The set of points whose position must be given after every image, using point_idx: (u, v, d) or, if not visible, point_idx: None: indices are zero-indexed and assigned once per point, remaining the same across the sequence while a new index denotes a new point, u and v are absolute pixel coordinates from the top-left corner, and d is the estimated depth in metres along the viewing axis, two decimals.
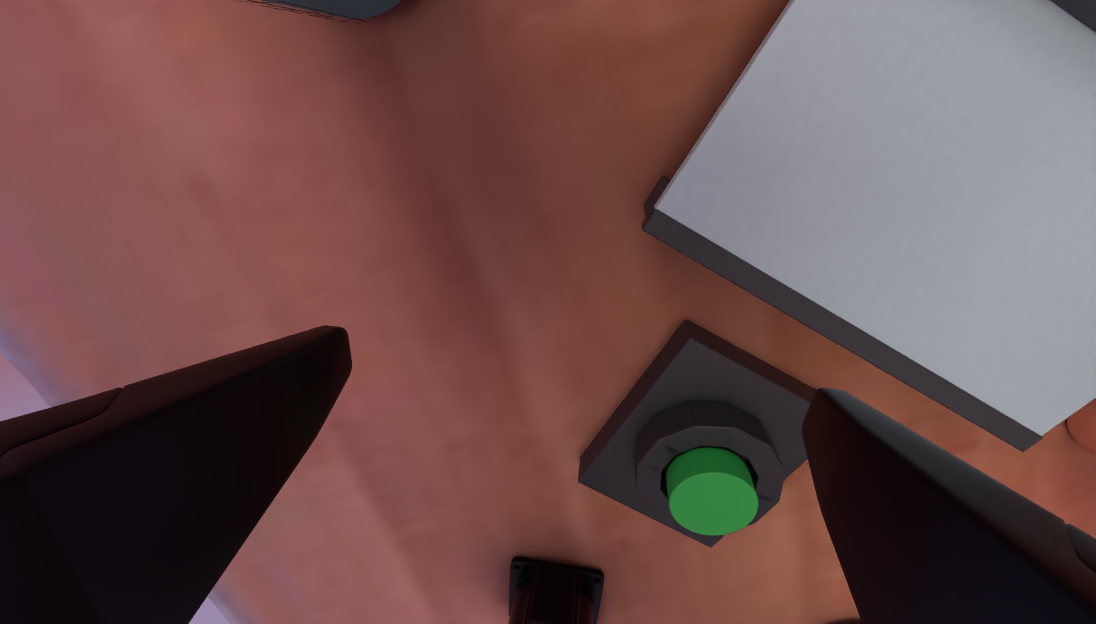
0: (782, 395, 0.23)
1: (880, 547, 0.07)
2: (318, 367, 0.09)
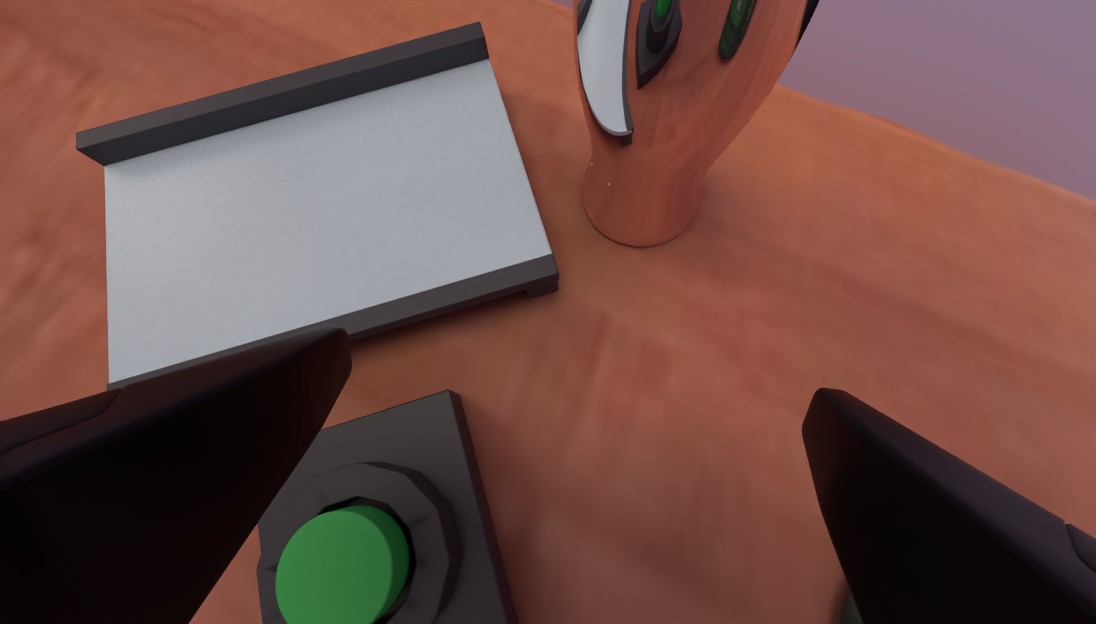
0: (372, 422, 0.21)
1: (880, 547, 0.07)
2: (318, 367, 0.09)
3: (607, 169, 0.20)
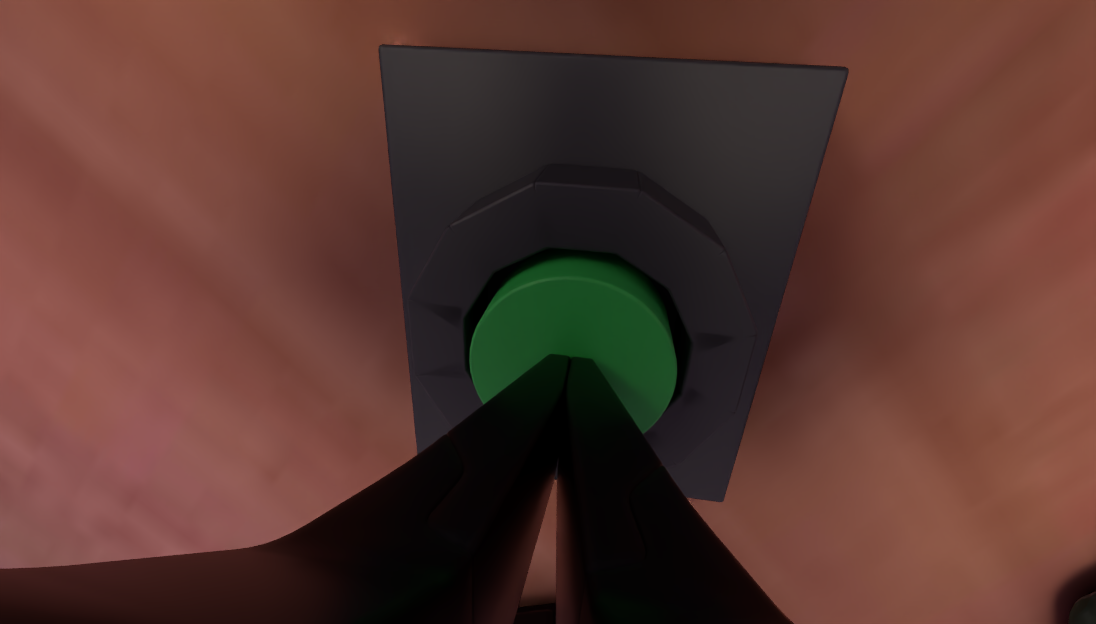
0: (651, 79, 0.09)
1: None
2: None
3: None
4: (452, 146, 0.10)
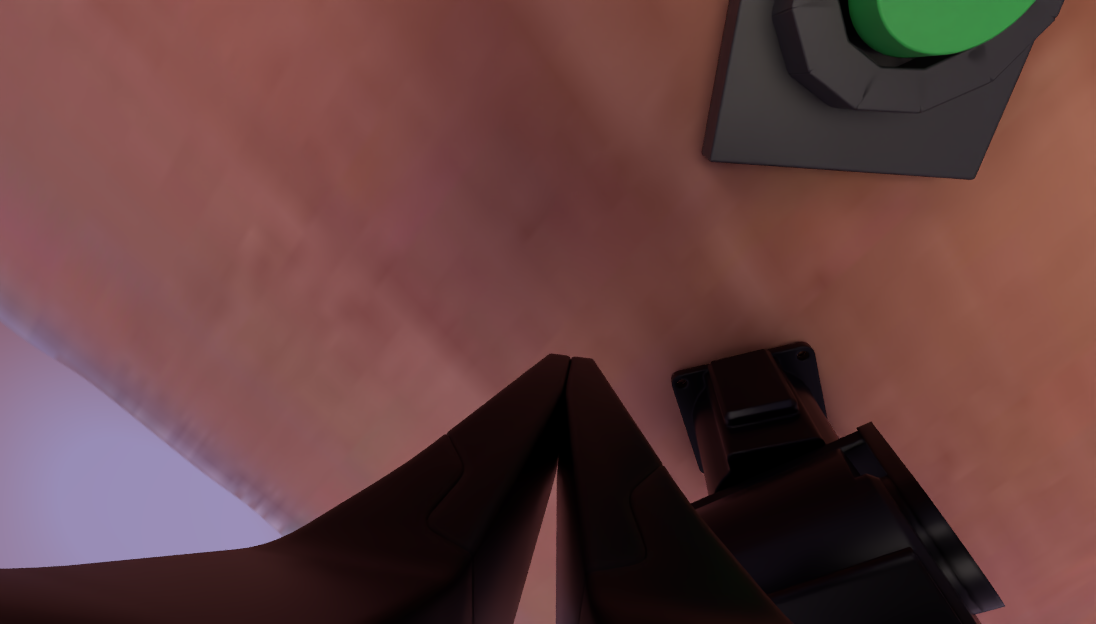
0: None
1: None
2: None
3: None
4: None
